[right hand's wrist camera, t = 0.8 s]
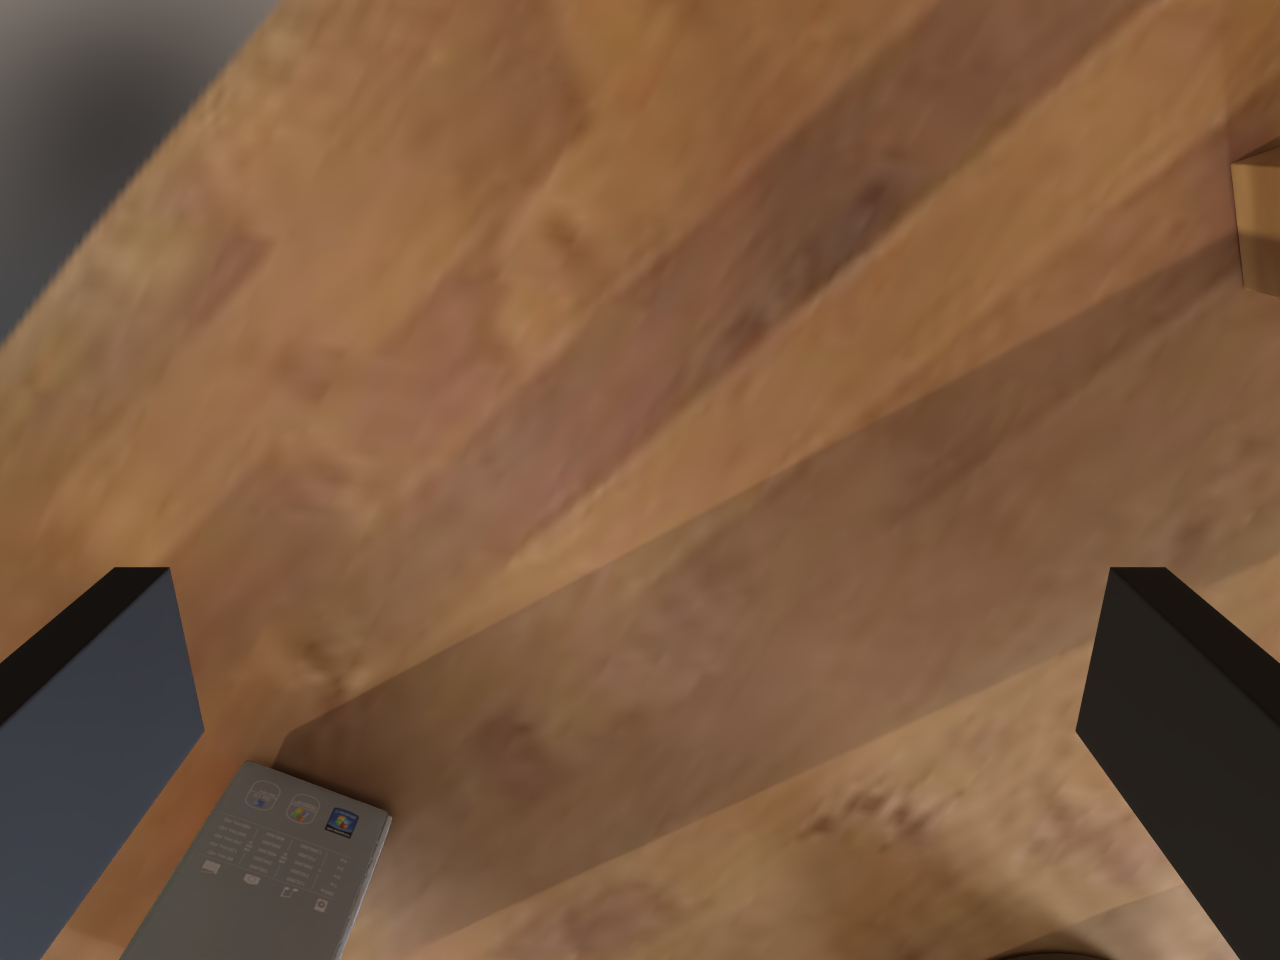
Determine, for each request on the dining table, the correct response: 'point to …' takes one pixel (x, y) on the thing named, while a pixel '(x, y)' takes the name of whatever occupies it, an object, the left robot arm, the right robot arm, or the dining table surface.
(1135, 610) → the right robot arm
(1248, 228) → the bar
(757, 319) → the dining table surface
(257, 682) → the dining table surface
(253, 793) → the hard drive box
